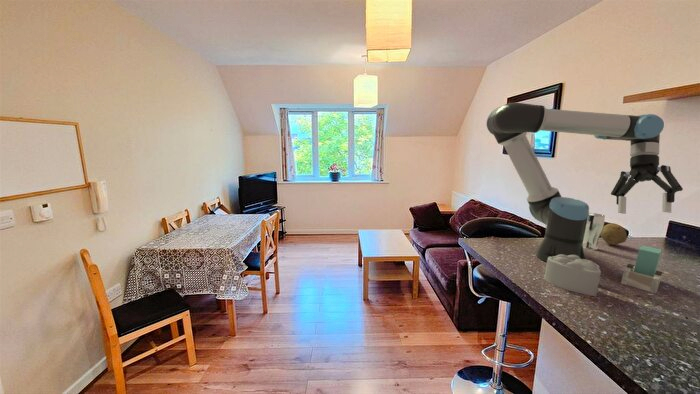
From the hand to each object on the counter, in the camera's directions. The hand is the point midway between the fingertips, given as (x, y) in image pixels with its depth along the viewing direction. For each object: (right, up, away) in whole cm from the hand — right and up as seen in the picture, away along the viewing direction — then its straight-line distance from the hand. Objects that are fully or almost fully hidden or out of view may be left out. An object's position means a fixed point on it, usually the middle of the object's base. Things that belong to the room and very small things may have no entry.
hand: (642, 212), depth 103 cm
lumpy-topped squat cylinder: (-38, -22, -14) cm, 46 cm away
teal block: (-12, -21, -12) cm, 27 cm away
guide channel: (-15, -22, -13) cm, 30 cm away
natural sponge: (+11, -16, +25) cm, 32 cm away
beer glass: (-3, -17, +20) cm, 26 cm away
